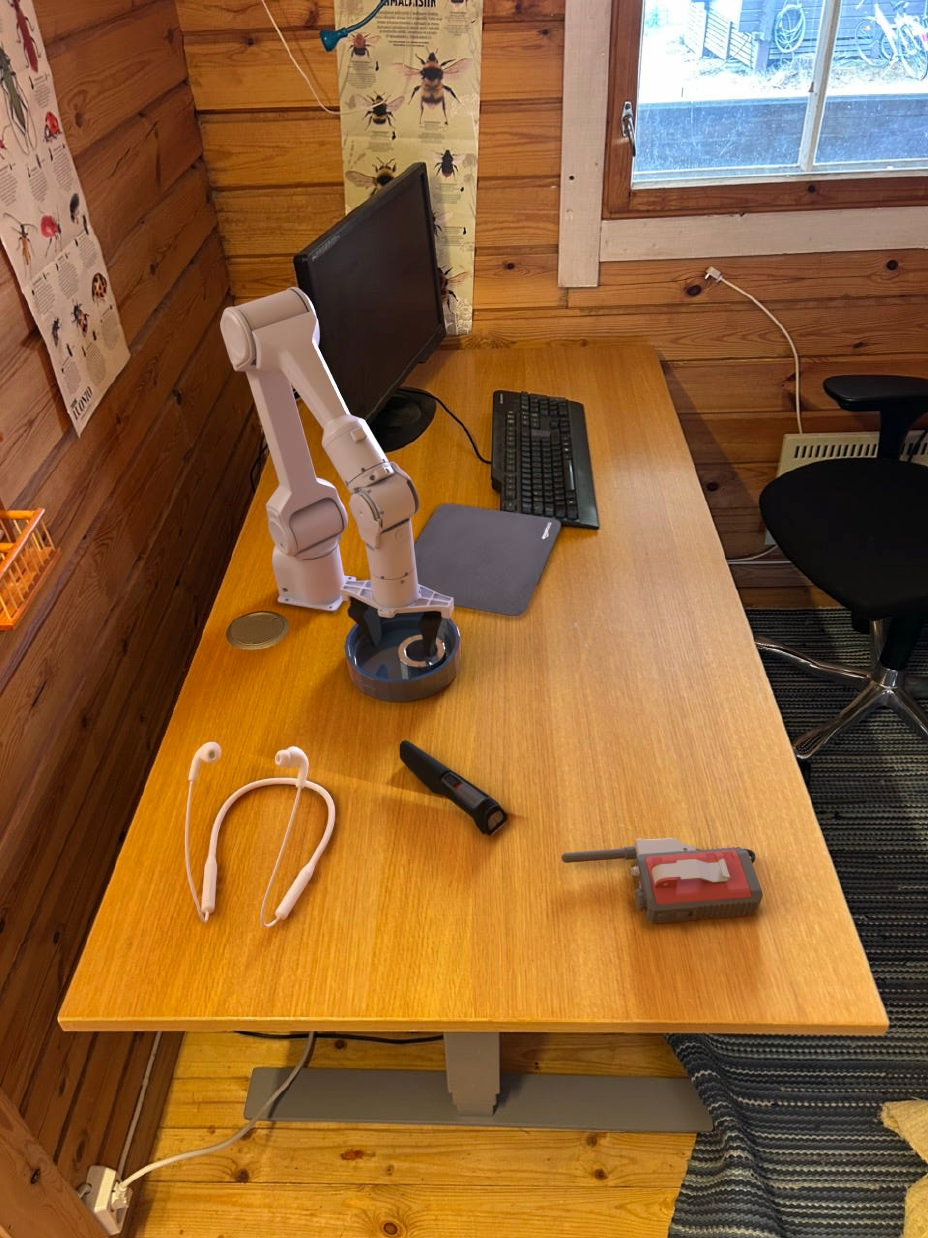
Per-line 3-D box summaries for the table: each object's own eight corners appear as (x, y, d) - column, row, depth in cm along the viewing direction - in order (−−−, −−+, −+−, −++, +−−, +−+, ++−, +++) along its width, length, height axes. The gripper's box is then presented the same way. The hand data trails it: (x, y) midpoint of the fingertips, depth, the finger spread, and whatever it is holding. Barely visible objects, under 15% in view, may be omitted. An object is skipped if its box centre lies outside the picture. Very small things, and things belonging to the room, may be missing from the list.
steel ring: (393, 676, 114) (390, 661, 112) (409, 645, 118) (407, 630, 116) (437, 684, 112) (435, 670, 110) (452, 652, 116) (451, 638, 115)
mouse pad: (522, 619, 121) (522, 618, 121) (384, 594, 127) (384, 593, 127) (563, 520, 139) (563, 519, 139) (440, 503, 144) (440, 501, 144)
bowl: (330, 692, 112) (325, 670, 110) (374, 617, 123) (370, 596, 121) (440, 714, 109) (438, 692, 106) (475, 635, 119) (474, 614, 117)
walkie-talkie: (745, 842, 92) (559, 856, 92) (752, 817, 90) (560, 832, 89) (771, 917, 86) (572, 933, 86) (780, 893, 83) (573, 909, 83)
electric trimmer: (416, 747, 105) (414, 730, 103) (510, 819, 96) (509, 802, 94) (393, 765, 103) (390, 748, 101) (486, 840, 94) (485, 823, 92)
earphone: (158, 926, 84) (176, 740, 87) (223, 897, 100) (237, 741, 103) (293, 937, 82) (308, 747, 85) (336, 906, 99) (348, 748, 101)
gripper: (324, 576, 104) (340, 657, 113) (437, 594, 100) (445, 677, 109) (347, 542, 109) (361, 623, 118) (456, 559, 105) (462, 641, 114)
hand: (403, 646), depth 114 cm, fingers open, 7 cm apart
